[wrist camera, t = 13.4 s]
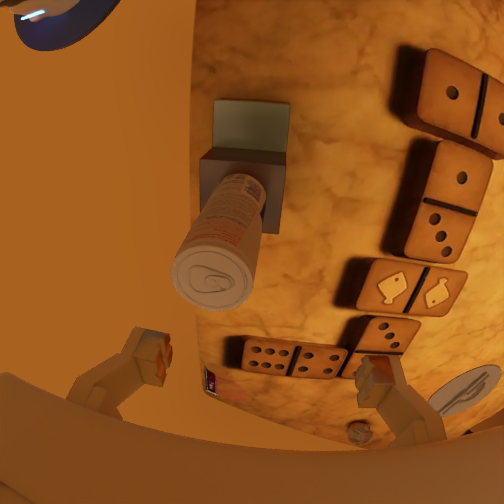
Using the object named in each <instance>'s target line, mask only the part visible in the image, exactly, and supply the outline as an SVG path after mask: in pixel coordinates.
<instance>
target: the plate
mask: <svg viewBox="0 0 504 504" xmlns="http://www.w3.org/2000/svg"><path fill="white" fill-rule="evenodd" d="M500 377H501V369H500V367H498V366H496V365H485V366H481V367H478V368H475V369H472V370H470V371H468V372H466V373H464V374H462V375H460V376H458V377H456V378H454V379H453V380H451V381H450V382H448V383H447V384H445V385H444V386H442V387H441V388H440V389H439V390H438V391H436V392H435V393H434V394H433V395H432V396H431V397H430V399H429V400H428V401H427V402H428V403H429V404H430V405H431V407H432V408H433V409H434V410H435V411H436V412H437V413H438V414H439V415H440V416H441V417H446V416H450V415H453V414H456V413H459V412H461V411H463V410H465V409H467V408H469V407H471V406H473V405H474V404H476V403H478V402H479V401H480V400H482V399H483V398H484V397H485V396H487V395H488V394H489V393H490V392H491V391H492V390H493V389H494V387H495V386H496V385H497V383H498V382H499V380H500Z"/></svg>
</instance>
